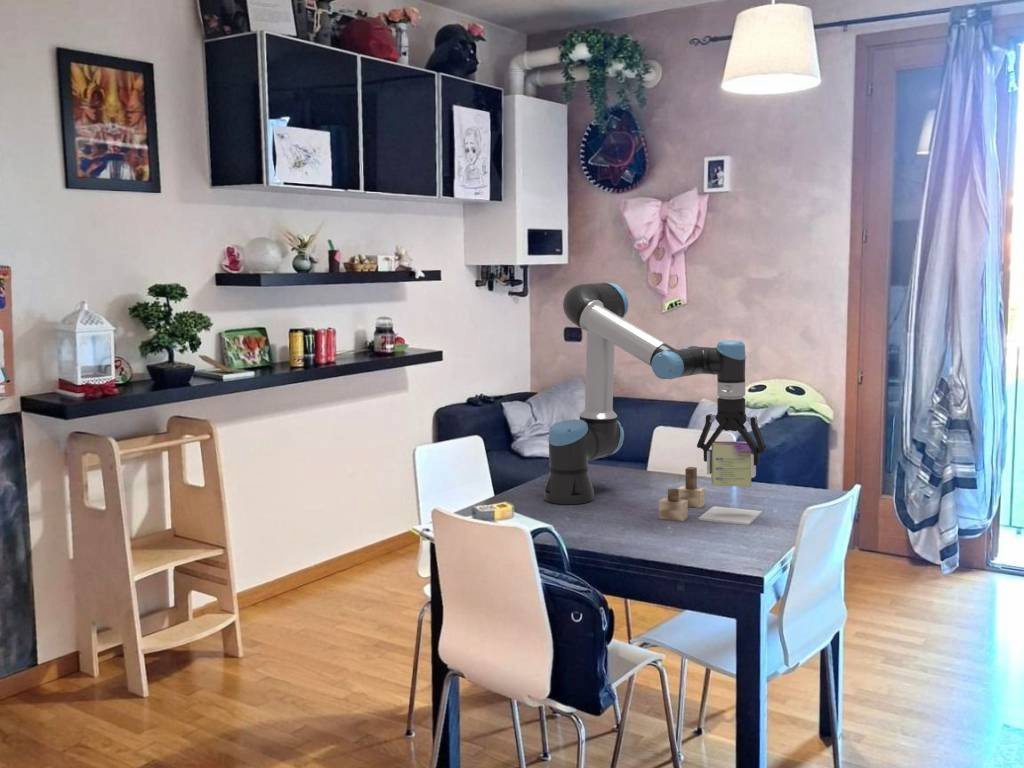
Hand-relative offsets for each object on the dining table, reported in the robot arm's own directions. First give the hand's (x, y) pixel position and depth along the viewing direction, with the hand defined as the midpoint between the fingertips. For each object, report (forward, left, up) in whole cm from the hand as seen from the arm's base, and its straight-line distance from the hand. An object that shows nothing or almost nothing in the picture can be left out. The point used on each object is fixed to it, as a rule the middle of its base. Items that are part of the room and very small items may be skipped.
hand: (731, 475), depth 274 cm
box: (0, 0, -3) cm, 3 cm away
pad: (0, 0, -12) cm, 12 cm away
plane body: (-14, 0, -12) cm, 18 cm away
